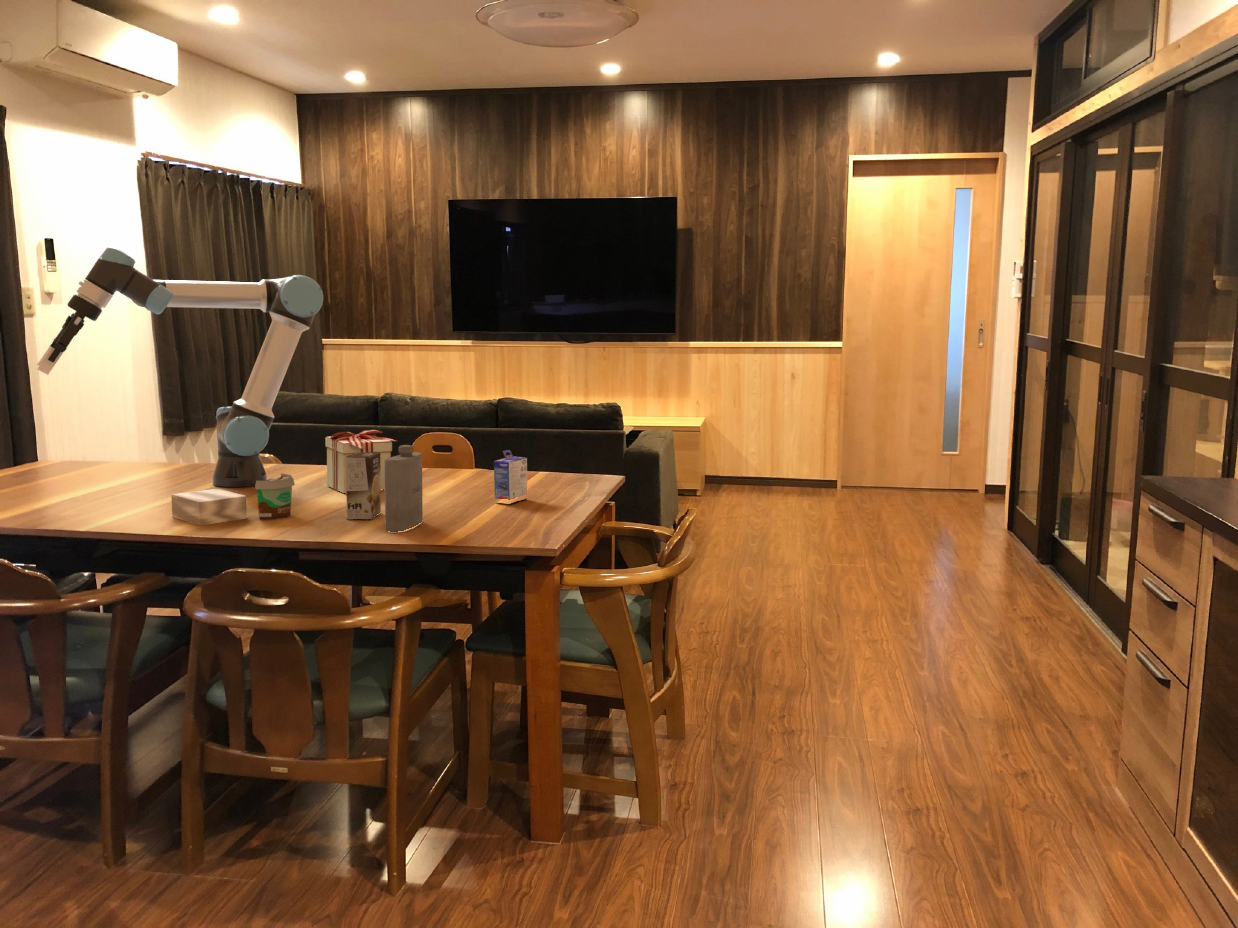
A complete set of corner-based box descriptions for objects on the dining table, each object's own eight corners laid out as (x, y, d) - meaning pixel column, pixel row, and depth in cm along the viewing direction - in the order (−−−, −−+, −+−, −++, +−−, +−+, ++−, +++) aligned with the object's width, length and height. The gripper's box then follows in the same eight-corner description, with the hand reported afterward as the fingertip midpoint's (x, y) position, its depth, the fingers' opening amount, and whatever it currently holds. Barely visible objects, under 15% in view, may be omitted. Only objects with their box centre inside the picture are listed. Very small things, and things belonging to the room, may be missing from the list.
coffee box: (371, 520, 238) (370, 457, 236) (346, 519, 238) (344, 456, 236) (381, 513, 247) (380, 452, 245) (357, 512, 247) (356, 451, 245)
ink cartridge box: (511, 497, 272) (511, 447, 270) (528, 499, 270) (528, 449, 268) (492, 503, 264) (493, 451, 261) (509, 505, 261) (510, 453, 259)
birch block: (218, 511, 246) (217, 488, 245) (246, 519, 237) (246, 495, 236) (172, 517, 237) (171, 494, 236) (200, 526, 228) (199, 502, 227)
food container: (278, 522, 233) (277, 482, 232) (256, 520, 235) (254, 480, 233) (304, 512, 245) (303, 474, 244) (283, 511, 246) (282, 473, 245)
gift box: (350, 496, 268) (348, 436, 266) (322, 487, 282) (320, 429, 280) (404, 490, 280) (403, 432, 277) (374, 481, 293) (374, 426, 291)
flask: (405, 534, 224) (404, 450, 221) (382, 532, 225) (381, 449, 222) (428, 521, 239) (428, 442, 236) (406, 520, 240) (405, 441, 237)
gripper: (73, 292, 257) (27, 358, 254) (76, 293, 236) (27, 365, 233) (100, 308, 261) (56, 373, 258) (106, 311, 240) (57, 382, 237)
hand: (42, 369), depth 245 cm, fingers open, 13 cm apart
